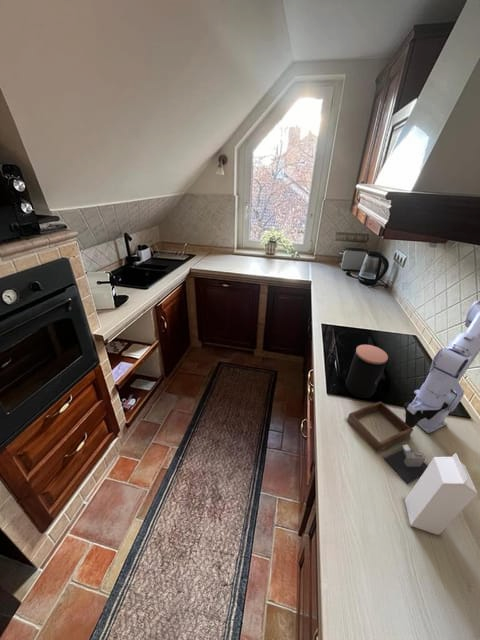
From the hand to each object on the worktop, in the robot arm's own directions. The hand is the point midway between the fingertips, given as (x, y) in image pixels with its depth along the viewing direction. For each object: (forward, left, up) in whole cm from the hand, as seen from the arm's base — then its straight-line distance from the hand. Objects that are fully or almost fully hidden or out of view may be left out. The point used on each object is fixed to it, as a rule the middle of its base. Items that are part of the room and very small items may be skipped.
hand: (417, 421), depth 77 cm
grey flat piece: (+7, +5, -9) cm, 13 cm away
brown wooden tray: (+5, -7, -9) cm, 13 cm away
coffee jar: (-3, -23, -10) cm, 25 cm away
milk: (+16, +16, -10) cm, 25 cm away
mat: (+7, +6, -9) cm, 13 cm away
